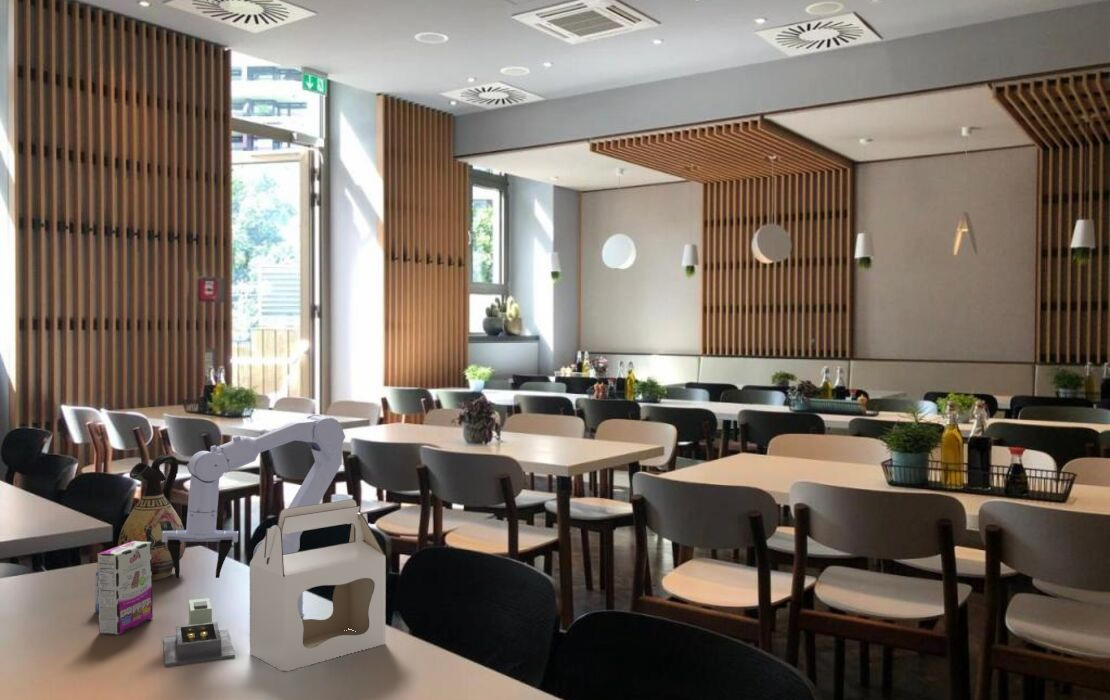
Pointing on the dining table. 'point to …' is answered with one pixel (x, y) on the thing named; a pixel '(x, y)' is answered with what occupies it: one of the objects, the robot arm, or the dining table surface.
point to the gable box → (289, 575)
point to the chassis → (197, 644)
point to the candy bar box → (124, 587)
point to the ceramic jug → (154, 514)
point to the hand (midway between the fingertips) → (197, 577)
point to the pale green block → (200, 611)
